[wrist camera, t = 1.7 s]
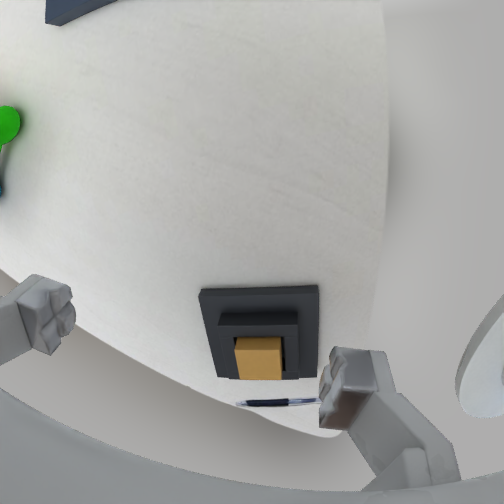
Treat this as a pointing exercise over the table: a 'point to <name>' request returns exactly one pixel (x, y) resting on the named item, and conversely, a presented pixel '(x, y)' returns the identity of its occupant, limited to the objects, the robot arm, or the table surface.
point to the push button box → (70, 9)
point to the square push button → (263, 325)
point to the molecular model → (8, 125)
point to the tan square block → (259, 358)
